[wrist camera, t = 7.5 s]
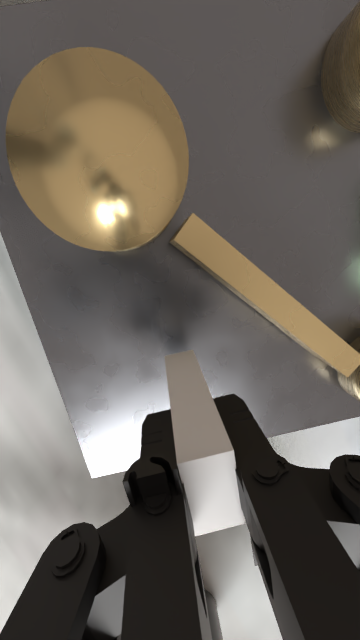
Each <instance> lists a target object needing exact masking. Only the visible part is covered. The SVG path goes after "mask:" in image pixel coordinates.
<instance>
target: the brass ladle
mask: <svg viewBox="0 0 360 640" xmlns="http://www.w3.org/2000/svg"><path fill="white" fill-rule="evenodd" d="M6 151H7V158H8V162H9V166H10V171H11V173H12V176H13V179H14V182H15V184H16V186H17V188H18V190H19V192H20V194H21V196H22V198H23V199H24V201H25V202H26V204H27V205H28V207H29V208H30V210H31V211H32V212H33V213H34V214H35V216H36V217H37V218H38V219H39V220H40V221H41V222H42V223H43V224H44V225H45V226H46V227H47V228H49V229H50V230H51V231H53V232H54V233H55V234H57V235H58V236H60V237H61V238H63V239H65V240H66V241H69V242H71V243H73V244H75V245H78V246H81V247H84V248H87V249H92V250H97V251H127V250H133V249H137V248H140V247H143V246H145V245H147V244H149V243H150V242H152V241H153V240H155V239H156V238H157V237H158V236H159V235H160V234H161V233H162V232H163V231H164V230H165V229H166V227H167V226H168V224H169V223H170V221H171V219H172V218H173V216H174V214H175V213H176V211H177V209H178V207H179V205H180V203H181V201H182V198H183V195H184V192H185V189H186V185H187V179H188V172H189V152H188V144H187V138H186V134H185V130H184V127H183V123H182V121H181V118H180V116H179V113H178V111H177V109H176V107H175V105H174V103H173V102H172V100H171V98H170V96H169V95H168V94H167V92H166V91H165V89H164V88H163V87H162V85H161V84H160V83H159V82H158V81H157V80H156V79H155V78H154V77H153V76H152V75H151V74H150V73H149V72H148V71H147V70H145V69H144V68H143V67H142V66H140V65H139V64H137V63H136V62H134V61H133V60H131V59H129V58H127V57H125V56H123V55H121V54H119V53H116V52H113V51H110V50H106V49H101V48H94V47H77V48H72V49H66V50H63V51H60V52H58V53H55V54H53V55H51V56H49V57H47V58H46V59H44V60H42V61H41V62H40V63H38V64H37V65H36V66H35V67H34V68H32V69H31V71H30V72H29V73H28V74H27V75H26V76H25V77H24V79H23V80H22V82H21V83H20V85H19V87H18V88H17V90H16V92H15V94H14V97H13V99H12V101H11V104H10V108H9V112H8V115H7V123H6ZM169 242H170V243H171V244H172V245H173V246H175V247H176V248H177V249H179V250H180V251H181V252H182V253H184V254H185V255H186V256H187V257H189V258H190V259H191V260H193V261H194V262H195V263H196V264H198V265H199V266H200V267H201V268H203V269H204V270H205V271H207V272H208V273H209V274H210V275H212V276H213V277H214V278H215V279H217V280H218V281H219V282H221V283H222V284H223V285H224V286H226V287H227V288H228V289H229V290H231V291H232V292H233V293H235V294H236V295H237V296H238V297H240V298H241V299H242V300H244V301H245V302H246V303H247V304H249V305H250V306H251V307H252V308H254V309H255V310H256V311H258V312H259V313H260V314H261V315H263V316H264V317H265V318H266V319H268V320H269V321H270V322H272V323H273V324H274V325H275V326H277V327H278V328H279V329H280V330H282V331H283V332H284V333H286V334H287V335H288V336H289V337H291V338H292V339H293V340H294V341H296V342H297V343H298V344H300V345H301V346H302V347H303V348H305V349H306V350H307V351H309V352H310V353H311V354H312V355H314V356H315V357H317V358H319V359H320V360H322V361H323V362H325V363H326V364H328V365H329V366H331V367H332V368H334V369H335V370H337V371H338V372H340V373H341V374H343V375H344V376H346V377H347V378H348V377H349V376H350V375H351V374H352V372H353V371H354V370H355V369H356V368H357V367H358V366H359V365H360V354H359V353H358V352H357V351H356V350H354V349H353V348H352V347H351V346H350V345H349V344H347V343H346V342H345V341H344V340H343V339H342V338H340V337H339V336H338V335H337V334H336V333H334V332H333V331H332V330H331V329H330V328H329V327H327V326H326V325H325V324H324V323H323V322H321V321H320V320H319V319H318V318H317V317H316V316H314V315H313V314H312V313H311V312H310V311H308V310H307V309H306V308H305V307H304V306H303V305H301V304H300V303H299V302H298V301H297V300H295V299H294V298H293V297H292V296H291V295H290V294H288V293H287V292H286V291H285V290H284V289H282V288H281V287H280V286H279V285H278V284H277V283H275V282H274V281H273V280H272V279H271V278H269V277H268V276H267V275H266V274H265V273H264V272H262V271H261V270H260V269H259V268H258V267H256V266H255V265H254V264H253V263H252V262H251V261H249V260H248V259H247V258H246V257H245V256H243V255H242V254H241V253H240V252H239V251H238V250H236V249H235V248H234V247H233V246H232V245H230V244H229V243H228V242H227V241H226V240H225V239H223V238H222V237H221V236H220V235H219V234H217V233H216V232H215V231H214V230H213V229H212V228H210V227H209V226H208V225H207V224H206V223H204V222H203V221H202V220H201V219H200V218H199V217H197V216H196V215H195V214H194V213H192V214H191V215H190V216H189V217H188V218H187V219H186V220H184V222H183V223H182V224H181V226H180V227H179V229H178V230H177V231H176V233H175V234H174V236H173V237H172V239H171V240H170V241H169Z"/></svg>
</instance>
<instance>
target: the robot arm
mask: <svg viewBox="0 0 360 640" xmlns="http://www.w3.org/2000/svg"><path fill="white" fill-rule="evenodd" d="M164 357H165V366H166V374H167V383H168V391H169V400H170V408H171V409H169V410H164V411H160V412H156V413H151V414H148V415H147V416H146V418H145V420H144V422H143V424H142V432H141V436H142V438H141V450H140V458H139V459H138V460H136V461H135V462H134V463H132V465H131V466H130V467H129V469H128V470H127V471H126V473H125V476H124V479H123V485H124V488H125V491H126V494H127V497H128V500H129V502H130V505H129V507H128V508H127V509H126V510H125V511H124V512H123V513H121V514H120V515H119V516H117V517H116V518H115V519H113V520H111V521H110V522H108V523H106V524H105V525H103V526H101V527H100V528H98V529H96V528H95V527H94V526H93V525H92V524H88V523H85V522H83V523H78V524H73V525H72V526H70V527H68V528H67V529H65V530H63V531H62V532H61V533H60V534H59V535H58V536H57V537H55V538H54V539H53V540H52V541H51V543H50V544H49V546H48V547H47V549H46V550H45V552H44V553H43V554H42V556H41V558H40V560H39V562H38V564H37V566H36V568H35V569H34V571H33V573H32V575H31V577H30V579H29V581H28V583H27V584H26V586H25V588H24V590H23V592H22V594H21V596H20V598H19V599H18V601H17V603H16V605H15V607H14V609H13V611H12V613H11V614H10V616H9V618H8V620H7V622H6V624H5V626H4V628H3V629H2V631H1V633H0V640H212V635H211V629H210V623H209V616H208V610H207V603H206V597H205V591H204V584H203V578H202V571H201V565H200V560H199V556H198V552H197V547H196V540H195V536H199V535H203V534H207V533H210V532H214V531H218V530H222V529H226V528H230V527H233V526H237V525H241V524H245V520H246V523H247V526H248V529H249V532H250V537H251V543H252V550H253V557H254V563H255V566H257V565H258V566H259V569H260V572H261V575H262V578H263V581H264V584H265V587H266V590H267V593H268V596H269V599H270V602H271V605H272V608H273V611H274V614H275V617H276V620H277V623H278V626H279V629H280V632H281V635H282V638H283V640H360V456H358V455H342V456H339V457H336V458H335V459H334V460H333V461H332V462H331V464H330V469H315V468H304V467H299V466H296V465H293V464H290V463H288V461H287V460H286V459H285V458H283V457H281V456H280V455H278V454H277V453H276V452H275V451H274V450H273V448H272V446H271V445H270V443H269V441H268V440H267V438H266V436H265V435H264V433H263V432H262V430H261V428H260V427H259V425H258V423H257V422H256V420H255V419H254V417H253V415H252V413H251V412H250V411H249V408H248V407H247V405H246V403H245V402H244V400H243V399H241V398H240V397H238V396H237V395H235V394H229V395H225V396H221V397H216V398H212V395H211V393H210V390H209V388H208V385H207V383H206V381H205V378H204V376H203V373H202V371H201V368H200V366H199V363H198V361H197V358H196V356H195V354H194V351H193V350H189V351H185V352H180V353H175V354H171V355H166V356H164ZM244 517H245V520H244Z"/></svg>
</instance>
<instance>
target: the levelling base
mask: <svg viewBox="0 0 360 640" xmlns="http://www.w3.org/2000/svg"><path fill="white" fill-rule="evenodd" d="M77 47H94V48H101V49H106V50H110V51H113V52H116V53H119V54H121V55H123V56H125V57H127V58H129V59H131V60H133V61H134V62H136V63H137V64H139V65H140V66H142V67H143V68H144V69H145V70H147V71H148V72H149V73H150V74H151V75H152V76H153V77H154V78H155V79H156V80H157V81H158V82H159V83H160V84H161V85H162V87H163V88H164V89H165V91H166V92H167V94H168V95H169V96H170V98H171V100H172V102H173V103H174V105H175V107H176V109H177V111H178V113H179V116H180V118H181V121H182V123H183V127H184V130H185V134H186V138H187V144H188V152H189V172H188V179H187V185H186V189H185V192H184V195H183V198H182V201H181V203H180V205H179V207H178V209H177V211H176V213H175V214H174V216H173V218H172V219H171V221H170V223H169V224H168V226H167V227H166V229H165V230H164V231H163V232H162V233H161V234H160V235H159V236H158V237H157V238H156V239H155V240H153V241H152V242H150V243H149V244H147V245H145V246H143V247H140V248H137V249H133V250H127V251H97V250H92V249H87V248H84V247H81V246H78V245H75V244H73V243H71V242H69V241H66V240H65V239H63V238H61V237H60V236H58V235H57V234H55V233H54V232H53V231H51V230H50V229H49V228H47V227H46V226H45V225H44V224H43V223H42V222H41V221H40V220H39V219H38V218H37V217H36V216H35V214H34V213H33V212H32V211H31V210H30V208H29V207H28V205H27V204H26V202H25V201H24V199H23V198H22V196H21V194H20V192H19V190H18V188H17V186H16V184H15V182H14V179H13V176H12V173H11V171H10V166H9V162H8V158H7V151H6V123H7V115H8V112H9V108H10V104H11V101H12V99H13V97H14V94H15V92H16V90H17V88H18V87H19V85H20V83H21V82H22V80H23V79H24V77H25V76H26V75H27V74H28V73H29V72H30V71H31V69H32V68H34V67H35V66H36V65H37V64H38V63H40V62H41V61H42V60H44V59H46V58H47V57H49V56H51V55H53V54H55V53H58V52H60V51H63V50H66V49H72V48H77ZM192 213H194V214H195V215H196V216H197V217H199V218H200V219H201V220H202V221H203V222H204V223H206V224H207V225H208V226H209V227H210V228H212V229H213V230H214V231H215V232H216V233H217V234H219V235H220V236H221V237H222V238H223V239H225V240H226V241H227V242H228V243H229V244H230V245H232V246H233V247H234V248H235V249H236V250H238V251H239V252H240V253H241V254H242V255H243V256H245V257H246V258H247V259H248V260H249V261H251V262H252V263H253V264H254V265H255V266H256V267H258V268H259V269H260V270H261V271H262V272H264V273H265V274H266V275H267V276H268V277H269V278H271V279H272V280H273V281H274V282H275V283H277V284H278V285H279V286H280V287H281V288H282V289H284V290H285V291H286V292H287V293H288V294H290V295H291V296H292V297H293V298H294V299H295V300H297V301H298V302H299V303H300V304H301V305H303V306H304V307H305V308H306V309H307V310H308V311H310V312H311V313H312V314H313V315H314V316H316V317H317V318H318V319H319V320H320V321H321V322H323V323H324V324H325V325H326V326H327V327H329V328H330V329H331V330H332V331H333V332H334V333H336V334H337V335H338V336H339V337H340V338H342V339H343V340H344V341H345V342H346V343H347V344H349V345H350V346H351V347H352V348H353V349H354V350H356V351H357V352H358V353H359V354H360V0H47V1H39V2H32V3H24V4H17V5H9V6H1V7H0V232H1V234H2V237H3V240H4V243H5V245H6V248H7V251H8V253H9V256H10V259H11V261H12V264H13V267H14V270H15V272H16V275H17V278H18V280H19V283H20V286H21V288H22V291H23V294H24V297H25V299H26V302H27V305H28V307H29V310H30V313H31V315H32V318H33V321H34V324H35V326H36V329H37V332H38V334H39V337H40V340H41V342H42V345H43V348H44V350H45V353H46V356H47V359H48V361H49V364H50V367H51V369H52V372H53V375H54V377H55V380H56V383H57V386H58V388H59V391H60V394H61V396H62V399H63V402H64V404H65V407H66V410H67V413H68V415H69V418H70V421H71V423H72V426H73V429H74V431H75V434H76V437H77V440H78V442H79V445H80V448H81V450H82V453H83V456H84V458H85V461H86V464H87V466H88V469H89V472H90V475H91V477H92V478H95V477H100V476H104V475H108V474H113V473H117V472H121V471H126V470H128V469H129V467H130V466H131V465H132V463H134V462H135V461H136V460H138V459H139V458H140V450H141V438H142V436H141V432H142V424H143V422H144V420H145V418H146V416H147V415H148V414H151V413H156V412H160V411H164V410H169V409H171V408H170V400H169V391H168V383H167V374H166V366H165V357H164V356H166V355H171V354H175V353H180V352H185V351H189V350H193V351H194V354H195V356H196V358H197V361H198V363H199V366H200V368H201V371H202V373H203V376H204V378H205V381H206V383H207V385H208V388H209V390H210V393H211V395H212V398H216V397H221V396H225V395H229V394H235V395H237V396H238V397H240V398H241V399H243V400H244V402H245V403H246V405H247V407H248V408H249V411H250V412H251V413H252V415H253V417H254V419H255V420H256V422H257V423H258V425H259V427H260V428H261V430H262V432H263V433H264V435H265V436H266V438H268V437H273V436H277V435H281V434H286V433H290V432H294V431H299V430H303V429H307V428H312V427H316V426H320V425H325V424H329V423H333V422H337V421H342V420H346V419H350V418H355V417H359V416H360V365H359V366H358V367H357V368H356V369H355V370H354V371H353V372H352V374H351V375H350V376H349V377H348V378H347V377H346V376H344V375H343V374H341V373H340V372H338V371H337V370H335V369H334V368H332V367H331V366H329V365H328V364H326V363H325V362H323V361H322V360H320V359H319V358H317V357H315V356H314V355H312V354H311V353H310V352H309V351H307V350H306V349H305V348H303V347H302V346H301V345H300V344H298V343H297V342H296V341H294V340H293V339H292V338H291V337H289V336H288V335H287V334H286V333H284V332H283V331H282V330H280V329H279V328H278V327H277V326H275V325H274V324H273V323H272V322H270V321H269V320H268V319H266V318H265V317H264V316H263V315H261V314H260V313H259V312H258V311H256V310H255V309H254V308H252V307H251V306H250V305H249V304H247V303H246V302H245V301H244V300H242V299H241V298H240V297H238V296H237V295H236V294H235V293H233V292H232V291H231V290H229V289H228V288H227V287H226V286H224V285H223V284H222V283H221V282H219V281H218V280H217V279H215V278H214V277H213V276H212V275H210V274H209V273H208V272H207V271H205V270H204V269H203V268H201V267H200V266H199V265H198V264H196V263H195V262H194V261H193V260H191V259H190V258H189V257H187V256H186V255H185V254H184V253H182V252H181V251H180V250H179V249H177V248H176V247H175V246H173V245H172V244H171V243H170V242H169V241H170V240H171V239H172V237H173V236H174V234H175V233H176V231H177V230H178V229H179V227H180V226H181V224H182V223H183V222H184V220H186V219H187V218H188V217H189V216H190V215H191V214H192Z"/></svg>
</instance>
